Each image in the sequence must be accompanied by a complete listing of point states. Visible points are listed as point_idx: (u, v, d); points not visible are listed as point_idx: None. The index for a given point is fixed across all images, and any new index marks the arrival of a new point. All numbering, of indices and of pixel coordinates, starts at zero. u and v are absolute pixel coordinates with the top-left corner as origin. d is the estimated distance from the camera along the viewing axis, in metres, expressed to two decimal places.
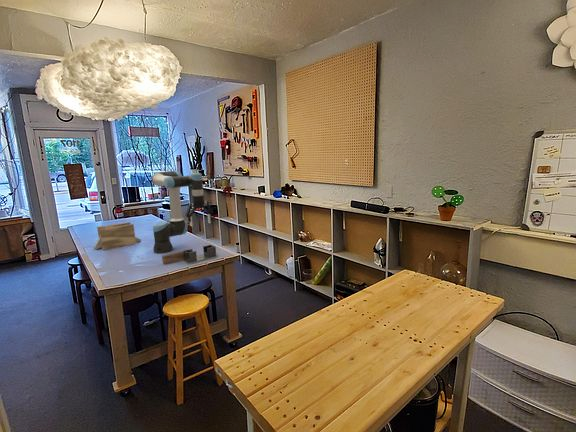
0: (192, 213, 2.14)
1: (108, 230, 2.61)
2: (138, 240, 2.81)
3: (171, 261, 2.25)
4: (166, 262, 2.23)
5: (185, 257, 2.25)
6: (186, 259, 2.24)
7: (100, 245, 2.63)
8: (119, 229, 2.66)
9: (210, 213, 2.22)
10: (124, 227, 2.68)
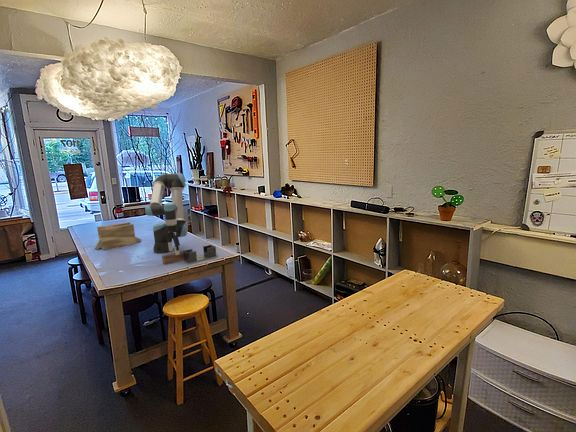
0: (168, 239, 2.29)
1: (108, 230, 2.61)
2: (138, 240, 2.81)
3: (171, 261, 2.25)
4: (166, 262, 2.23)
5: (185, 257, 2.25)
6: (186, 259, 2.24)
7: (101, 245, 2.63)
8: (119, 229, 2.66)
9: (175, 245, 2.19)
10: (124, 227, 2.68)
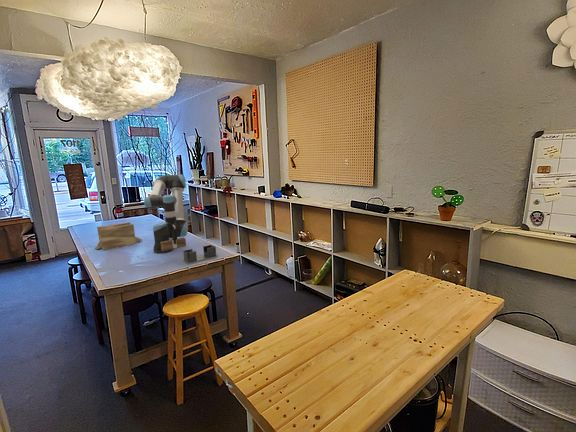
0: (169, 234, 2.26)
1: (108, 230, 2.61)
2: (139, 240, 2.81)
3: (170, 248, 2.23)
4: (165, 249, 2.21)
5: (185, 257, 2.25)
6: (186, 259, 2.24)
7: (101, 245, 2.63)
8: (119, 229, 2.66)
9: (172, 239, 2.22)
10: (124, 227, 2.68)
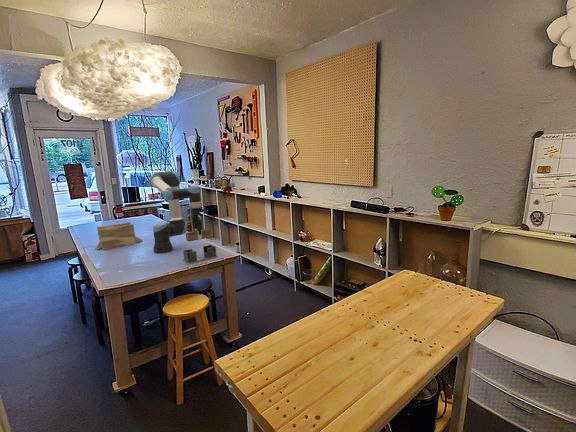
0: (194, 224, 2.27)
1: (108, 230, 2.61)
2: (139, 240, 2.81)
3: (195, 238, 2.25)
4: (190, 239, 2.22)
5: (185, 257, 2.25)
6: (186, 259, 2.24)
7: None
8: (119, 229, 2.66)
9: (197, 229, 2.24)
10: (124, 227, 2.68)
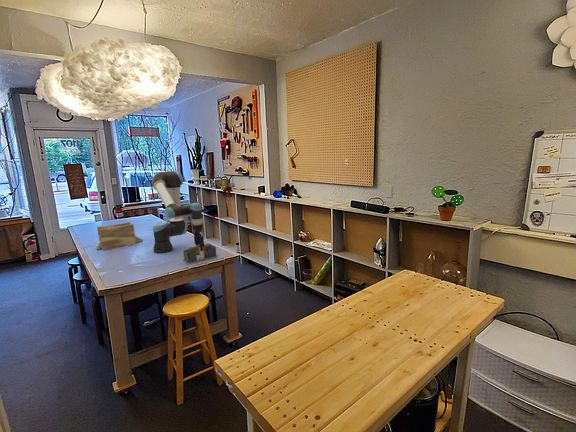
0: (196, 241, 2.30)
1: (108, 230, 2.61)
2: (140, 240, 2.82)
3: (196, 253, 2.27)
4: None
5: (185, 257, 2.25)
6: (186, 259, 2.24)
7: None
8: (119, 229, 2.66)
9: (199, 246, 2.26)
10: (124, 227, 2.68)
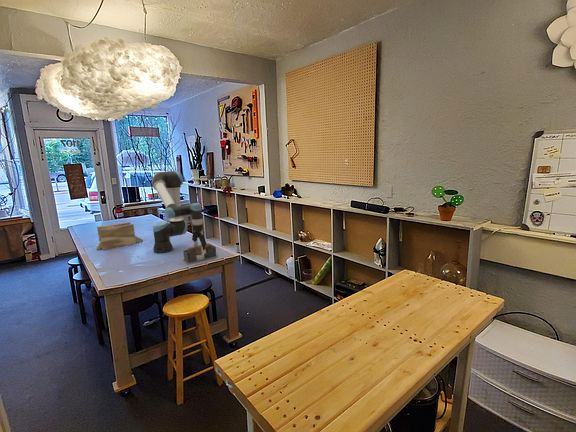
0: (194, 238, 2.32)
1: (108, 230, 2.61)
2: (140, 240, 2.82)
3: (196, 253, 2.27)
4: None
5: (185, 257, 2.25)
6: (186, 259, 2.24)
7: None
8: (119, 229, 2.66)
9: (201, 244, 2.23)
10: (124, 227, 2.68)
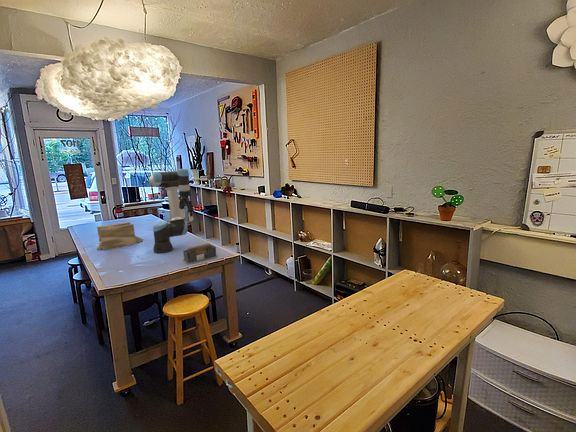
0: (181, 206, 2.27)
1: (108, 230, 2.61)
2: (141, 240, 2.82)
3: (196, 253, 2.27)
4: None
5: (185, 257, 2.25)
6: (186, 259, 2.24)
7: None
8: (119, 229, 2.66)
9: (189, 211, 2.17)
10: (124, 227, 2.68)
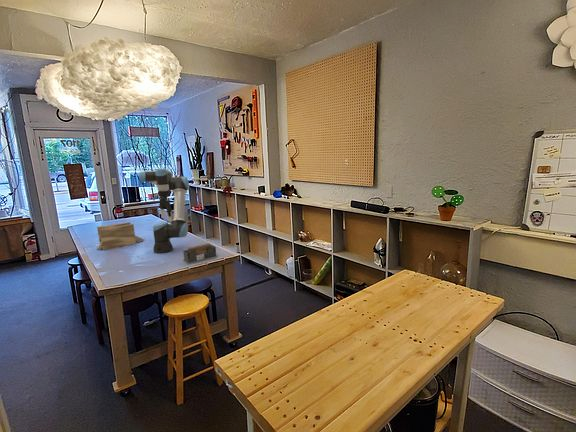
0: (161, 206, 2.25)
1: (108, 230, 2.61)
2: (141, 240, 2.82)
3: (196, 253, 2.27)
4: None
5: (185, 257, 2.25)
6: (186, 259, 2.24)
7: None
8: (119, 229, 2.66)
9: (167, 211, 2.15)
10: (124, 227, 2.68)
